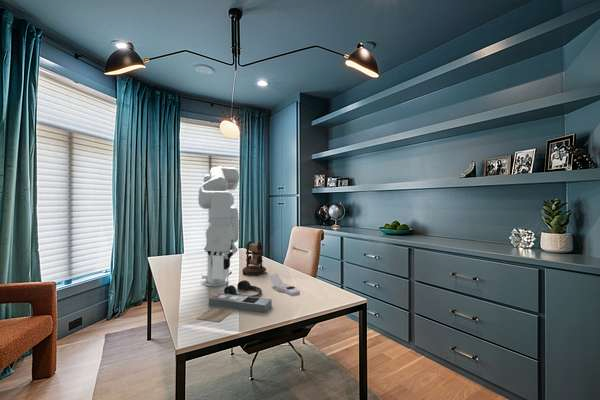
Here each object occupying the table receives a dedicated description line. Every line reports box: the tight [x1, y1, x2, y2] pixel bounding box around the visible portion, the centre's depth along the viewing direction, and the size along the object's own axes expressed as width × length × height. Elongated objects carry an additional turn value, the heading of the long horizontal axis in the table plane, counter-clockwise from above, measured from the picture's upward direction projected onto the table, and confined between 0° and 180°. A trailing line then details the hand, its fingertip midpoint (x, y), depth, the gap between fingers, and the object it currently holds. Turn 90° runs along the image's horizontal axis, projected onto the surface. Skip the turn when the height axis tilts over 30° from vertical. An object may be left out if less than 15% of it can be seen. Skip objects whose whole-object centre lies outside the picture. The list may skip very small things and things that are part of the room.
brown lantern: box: [241, 240, 267, 276], centre depth 170 cm, size 15×15×20 cm
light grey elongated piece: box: [267, 273, 301, 297], centre depth 138 cm, size 6×6×25 cm
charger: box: [212, 252, 230, 280], centre depth 107 cm, size 5×5×11 cm
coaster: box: [195, 307, 234, 323], centre depth 106 cm, size 10×10×1 cm
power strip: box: [208, 292, 272, 314], centre depth 115 cm, size 26×7×4 cm, turn 74°
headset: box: [223, 271, 263, 298], centre depth 131 cm, size 14×10×20 cm
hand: (220, 267), depth 107 cm, fingers closed on charger, 4 cm apart
